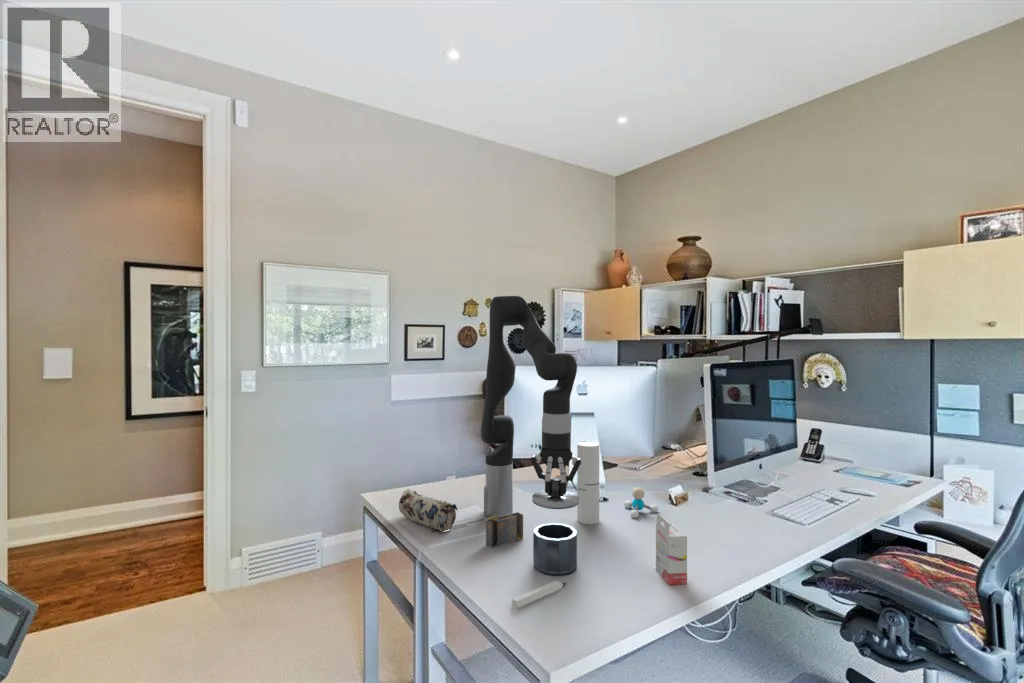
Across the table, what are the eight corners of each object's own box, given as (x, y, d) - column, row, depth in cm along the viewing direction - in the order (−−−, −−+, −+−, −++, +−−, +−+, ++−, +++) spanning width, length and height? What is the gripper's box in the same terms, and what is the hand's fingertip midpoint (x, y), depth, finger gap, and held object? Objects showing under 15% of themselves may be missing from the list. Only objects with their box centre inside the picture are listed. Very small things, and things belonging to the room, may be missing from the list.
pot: (529, 576, 120) (529, 540, 120) (538, 552, 134) (538, 519, 134) (574, 580, 118) (574, 544, 118) (578, 555, 132) (578, 522, 132)
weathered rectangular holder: (491, 550, 136) (491, 516, 136) (486, 546, 139) (486, 512, 139) (524, 540, 143) (524, 508, 143) (518, 537, 145) (518, 505, 145)
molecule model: (616, 508, 170) (615, 483, 170) (646, 505, 173) (645, 480, 173) (632, 520, 159) (632, 493, 159) (664, 516, 162) (664, 490, 162)
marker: (566, 590, 116) (515, 612, 106) (561, 582, 117) (510, 604, 107) (570, 582, 115) (519, 605, 105) (565, 575, 116) (514, 596, 106)
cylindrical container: (599, 525, 154) (599, 446, 154) (576, 523, 155) (576, 445, 155) (599, 516, 161) (599, 442, 161) (577, 515, 162) (578, 441, 162)
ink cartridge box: (688, 585, 116) (688, 524, 116) (668, 585, 116) (668, 524, 116) (673, 568, 125) (673, 511, 125) (654, 569, 124) (654, 512, 124)
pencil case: (459, 528, 151) (459, 497, 151) (438, 537, 145) (438, 504, 145) (416, 512, 166) (416, 483, 166) (395, 519, 159) (395, 489, 159)
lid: (529, 507, 121) (529, 485, 121) (535, 491, 133) (536, 471, 133) (577, 510, 119) (577, 488, 119) (580, 494, 131) (580, 474, 131)
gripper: (527, 431, 124) (527, 498, 124) (582, 433, 121) (582, 502, 121) (531, 425, 131) (531, 488, 131) (584, 427, 128) (583, 492, 129)
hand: (555, 494), depth 126 cm, fingers closed on lid, 3 cm apart
